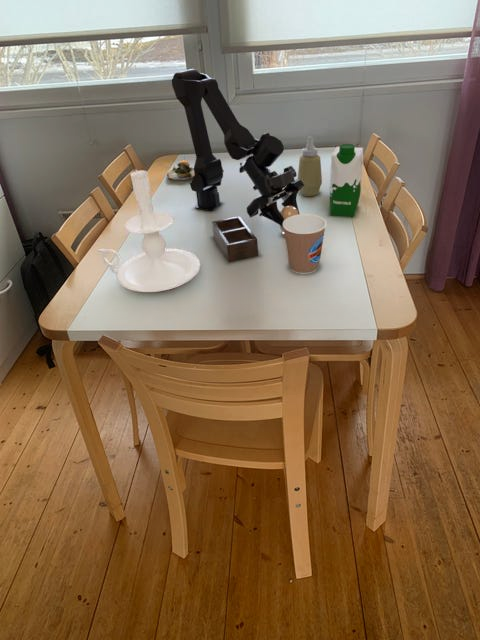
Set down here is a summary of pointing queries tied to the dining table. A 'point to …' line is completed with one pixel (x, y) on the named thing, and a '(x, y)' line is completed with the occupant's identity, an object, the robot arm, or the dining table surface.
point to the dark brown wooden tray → (235, 239)
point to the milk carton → (345, 180)
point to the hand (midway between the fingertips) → (292, 223)
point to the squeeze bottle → (310, 170)
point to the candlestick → (152, 248)
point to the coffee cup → (304, 241)
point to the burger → (182, 171)
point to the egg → (287, 214)
